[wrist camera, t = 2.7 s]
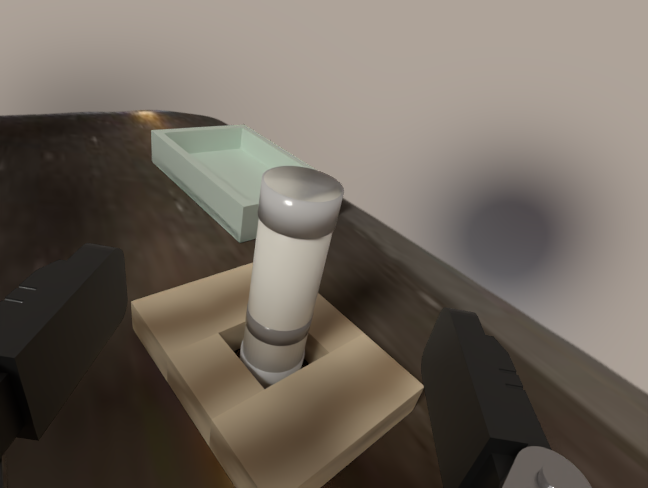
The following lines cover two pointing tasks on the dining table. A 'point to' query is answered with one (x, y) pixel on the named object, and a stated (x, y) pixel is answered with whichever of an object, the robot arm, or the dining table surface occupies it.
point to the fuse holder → (282, 397)
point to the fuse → (287, 268)
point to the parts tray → (221, 170)
